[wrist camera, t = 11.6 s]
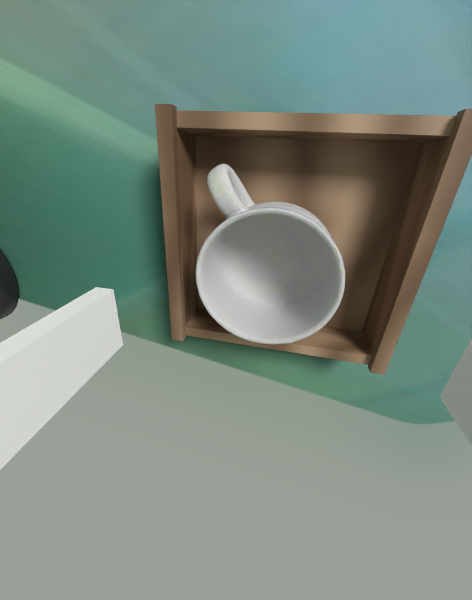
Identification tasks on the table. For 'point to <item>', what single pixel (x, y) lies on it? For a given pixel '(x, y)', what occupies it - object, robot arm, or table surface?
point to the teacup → (267, 266)
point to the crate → (318, 208)
